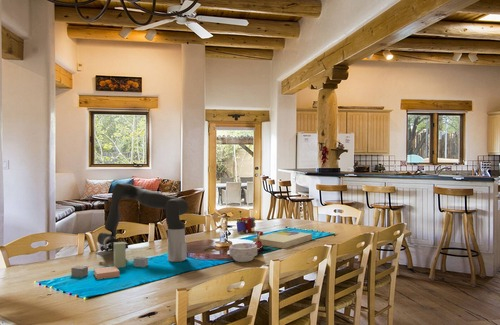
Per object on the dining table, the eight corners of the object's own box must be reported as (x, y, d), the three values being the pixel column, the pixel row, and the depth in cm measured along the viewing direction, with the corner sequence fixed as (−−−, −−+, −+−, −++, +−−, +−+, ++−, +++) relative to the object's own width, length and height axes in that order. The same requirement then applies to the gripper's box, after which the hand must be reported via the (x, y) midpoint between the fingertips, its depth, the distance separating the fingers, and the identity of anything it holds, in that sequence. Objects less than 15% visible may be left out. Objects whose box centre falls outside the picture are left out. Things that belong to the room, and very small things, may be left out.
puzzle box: (252, 244, 266) (283, 249, 251) (252, 237, 266) (283, 242, 251) (283, 236, 294) (313, 240, 279) (283, 230, 294) (313, 233, 279)
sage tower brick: (123, 264, 215) (123, 241, 215) (125, 266, 210) (125, 243, 210) (113, 265, 212) (113, 242, 212) (115, 267, 208) (115, 244, 208)
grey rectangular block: (87, 275, 196) (87, 266, 196) (82, 277, 192) (82, 268, 192) (77, 274, 197) (77, 265, 197) (71, 276, 194) (71, 267, 193)
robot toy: (233, 234, 306) (251, 228, 320) (241, 235, 300) (260, 229, 314) (231, 211, 305) (249, 206, 319) (240, 212, 298) (258, 207, 313)
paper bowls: (223, 261, 221) (223, 246, 221) (239, 255, 233) (239, 241, 233) (247, 265, 212) (247, 249, 212) (262, 259, 225) (262, 244, 225)
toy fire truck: (253, 251, 245) (253, 234, 245) (258, 246, 259) (258, 230, 259) (259, 251, 245) (259, 235, 244) (263, 246, 258) (263, 231, 258)
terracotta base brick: (115, 272, 202) (115, 266, 202) (119, 277, 193) (119, 270, 193) (93, 275, 197) (93, 268, 197) (96, 280, 188) (96, 273, 188)
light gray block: (148, 265, 213) (148, 257, 213) (144, 267, 209) (144, 259, 209) (137, 264, 215) (137, 257, 215) (133, 266, 211) (133, 258, 211)
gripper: (98, 238, 231) (102, 243, 216) (124, 235, 237) (129, 240, 223) (98, 251, 231) (102, 257, 216) (124, 248, 237) (130, 254, 223)
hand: (116, 249), depth 220 cm, fingers open, 8 cm apart
